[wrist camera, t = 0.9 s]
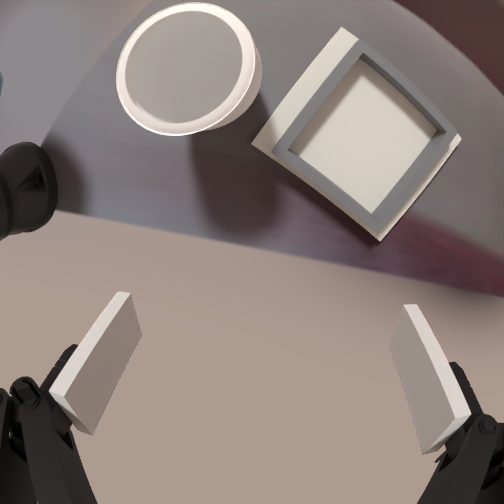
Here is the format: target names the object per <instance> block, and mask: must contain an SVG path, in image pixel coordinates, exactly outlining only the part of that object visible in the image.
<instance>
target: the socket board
mask: <svg viewBox="0 0 504 504" xmlns="http://www.w3.org/2000/svg"><path fill="white" fill-rule="evenodd" d="M457 133H458V132H457V130H456V129H455V128H454V127H453V126H452V124H451V123H450V122H449V121H448V120H447V119H446V118H445V116H444V115H443V114H442V113H441V112H440V111H439V110H438V109H437V108H436V106H435V105H434V104H433V103H432V102H431V101H430V100H429V99H428V98H427V97H426V96H425V95H424V94H423V93H422V92H421V91H420V90H419V89H418V88H417V87H416V86H415V85H414V84H413V83H412V82H411V81H410V80H409V79H408V78H407V77H406V76H404V75H403V74H402V73H401V72H400V71H399V70H398V69H397V68H396V67H394V66H393V65H392V64H391V63H390V62H389V61H388V60H386V59H385V58H384V57H383V56H382V55H380V54H379V53H378V52H377V51H375V50H374V49H373V48H372V47H370V46H369V45H368V44H367V43H365V42H364V41H363V40H361V39H358V38H356V37H355V36H353V35H352V34H351V33H349V32H348V31H347V30H345V29H344V28H342V27H341V28H340V29H339V31H338V32H337V33H336V34H335V35H334V37H333V38H332V39H331V40H330V41H329V43H328V44H327V45H326V46H325V47H324V49H323V50H322V51H321V52H320V53H319V55H318V56H317V57H316V58H315V60H314V61H313V62H312V63H311V65H310V66H309V67H308V68H307V70H306V71H305V72H304V73H303V75H302V76H301V77H300V79H299V80H298V81H297V82H296V84H295V85H294V86H293V88H292V89H291V90H290V91H289V93H288V94H287V95H286V97H285V98H284V99H283V101H282V102H281V103H280V105H279V106H278V107H277V109H276V110H275V111H274V113H273V114H272V115H271V117H270V118H269V120H268V121H267V122H266V124H265V125H264V126H263V128H262V129H261V131H260V132H259V133H258V135H257V136H256V138H255V139H254V140H253V142H252V143H251V144H252V145H253V146H255V147H256V148H258V149H259V150H261V151H262V152H264V153H265V154H267V155H268V156H270V157H271V158H272V159H274V160H275V161H277V162H278V163H280V164H281V165H282V166H284V167H285V168H287V169H288V170H289V171H291V172H292V173H294V174H295V175H296V176H298V177H299V178H300V179H302V180H303V181H305V182H306V183H307V184H309V185H310V186H311V187H313V188H314V189H315V190H317V191H318V192H319V193H321V194H322V195H323V196H324V197H326V198H327V199H328V200H330V201H331V202H332V203H333V204H335V205H336V206H337V207H339V208H340V209H341V210H342V211H344V212H345V213H346V214H347V215H349V216H350V217H351V218H352V219H354V220H355V221H356V222H357V223H358V224H360V225H361V226H362V227H363V228H365V229H366V230H367V231H368V232H369V233H371V234H372V235H373V236H374V237H375V238H376V239H378V240H379V241H381V240H382V239H383V237H384V236H385V235H386V234H387V233H388V232H389V231H390V229H391V228H392V227H393V226H394V225H395V224H396V222H397V221H398V220H399V219H400V218H401V217H402V215H403V214H404V213H405V212H406V211H407V209H408V208H409V207H410V206H411V205H412V203H413V202H414V201H415V200H416V198H417V197H418V196H419V195H420V193H421V192H422V191H423V190H424V188H425V187H426V186H427V185H428V183H429V182H430V181H431V179H432V178H433V177H434V176H435V174H436V173H437V172H438V170H439V169H440V168H441V166H442V165H443V164H444V162H445V161H446V160H447V158H448V157H449V156H450V154H451V153H452V152H453V150H454V149H455V147H456V146H457V145H458V143H459V142H460V140H461V137H460V136H459V135H458V134H457Z"/></svg>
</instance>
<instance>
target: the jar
mask: <svg viewBox="0 0 504 504" xmlns="http://www.w3.org/2000/svg"><path fill="white" fill-rule="evenodd" d="M261 81H262V63H261V58H260V55H259V52H258V50H257V48H256V46H255V44H254V41H253V39H252V36H251V34H250V32H249V30H248V29H247V28H246V26H245V25H244V24H243V22H242V21H241V20H240V19H238V18H237V17H236V16H235V15H234V14H232V13H231V12H229V11H228V10H226V9H224V8H222V7H219V6H216V5H213V4H208V3H201V2H190V3H182V4H177V5H174V6H171V7H168V8H165V9H163V10H161V11H159V12H157V13H155V14H154V15H152V16H151V17H149V18H148V19H147V20H145V21H144V22H143V23H142V24H141V25H140V26H139V27H138V28H137V29H136V30H135V31H134V32H133V33H132V35H131V36H130V37H129V39H128V41H127V42H126V44H125V46H124V48H123V50H122V52H121V55H120V58H119V61H118V65H117V72H116V85H117V91H118V95H119V98H120V101H121V103H122V105H123V107H124V109H125V111H126V112H127V113H128V115H129V116H130V117H131V118H132V119H133V120H134V121H135V122H136V123H138V124H139V125H140V126H142V127H144V128H145V129H147V130H149V131H152V132H155V133H158V134H162V135H170V136H179V135H188V134H192V133H196V132H199V131H206V130H211V129H215V128H219V127H221V126H224V125H226V124H228V123H230V122H232V121H234V120H235V119H237V118H238V117H239V116H241V115H242V114H243V113H244V112H245V111H246V110H247V109H248V108H249V107H250V105H251V104H252V103H253V101H254V99H255V98H256V96H257V94H258V91H259V89H260V85H261Z"/></svg>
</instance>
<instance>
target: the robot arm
mask: <svg viewBox="0 0 504 504" xmlns="http://www.w3.org/2000/svg"><path fill="white" fill-rule="evenodd" d="M2 83H3V77H2V74H1V72H0V94H1V88H2ZM56 201H57V184H56V178H55V174H54V170H53V167H52V165H51V162H50V160H49V158H48V157H47V155H46V154H45V152H44V151H43V150H42V149H41V148H40V147H39V146H37V145H36V144H34V143H32V142H21V143H18V144H14V145H12V146H10V147H9V148H7V149H6V150H5V151H4V152H3V153H2V154H1V155H0V241H1V240H2V239H4V238H5V237H7V236H9V235H14V234H19V233H22V232H32V231H35V230H37V229H39V228H40V227H42V226H43V225H45V224H46V223H47V222H48V221H49V220H50V219H51V217H52V215H53V213H54V210H55V207H56ZM141 336H142V333H141V330H140V326H139V322H138V319H137V315H136V311H135V307H134V304H133V300H132V296H131V293H126V292H117V293H116V295H115V296H114V297H113V299H112V300H111V301H110V303H109V304H108V305H107V307H106V308H105V309H104V311H103V312H102V313H101V315H100V316H99V317H98V319H97V320H96V322H95V323H94V324H93V326H92V327H91V328H90V330H89V331H88V333H87V334H86V336H85V337H84V338H83V340H82V341H81V343H80V344H79V345H76V344H73V345H71V346H70V347H69V348H67V349H66V350H65V351H64V352H63V354H62V355H61V357H60V358H59V360H58V361H57V362H56V364H55V367H53V368H52V370H51V371H50V373H49V374H48V376H47V377H46V379H45V380H44V382H43V383H42V385H41V386H40V388H39V387H38V386H37V384H36V383H35V381H34V380H33V379H32V378H31V377H21V378H19V379H17V380H16V381H15V382H13V384H12V386H11V387H10V394H11V395H12V396H9V395H8V393H7V392H6V391H5V390H4V389H3V388H0V504H37V502H38V504H97V501H96V499H95V496H94V494H93V492H92V489H91V487H90V484H89V482H88V479H87V476H86V474H85V471H84V468H83V465H82V462H81V459H80V456H79V454H78V451H77V447H76V444H75V441H74V437H73V434H72V431H71V430H70V427H71V425H72V423H73V425H74V426H75V427H76V428H77V430H79V431H81V432H84V433H87V434H89V435H93V434H94V431H95V429H96V427H97V425H98V423H99V420H100V418H101V416H102V414H103V412H104V410H105V408H106V406H107V404H108V401H109V399H110V397H111V395H112V393H113V391H114V389H115V387H116V385H117V383H118V381H119V379H120V377H121V375H122V373H123V371H124V369H125V367H126V365H127V363H128V361H129V359H130V357H131V355H132V353H133V351H134V350H135V348H136V346H137V344H138V342H139V340H140V338H141ZM389 349H390V352H391V354H392V357H393V360H394V362H395V366H396V368H397V371H398V374H399V377H400V380H401V383H402V386H403V389H404V392H405V396H406V399H407V402H408V405H409V408H410V412H411V415H412V418H413V422H414V425H415V429H416V433H417V436H418V440H419V444H420V448H421V451H422V455H423V454H428V453H432V452H435V451H438V450H439V449H440V448H441V447H442V446H443V445H444V444H445V447H446V451H445V452H444V453H442V454H441V455H440V456H439V457H438V458H437V460H436V461H435V462H436V463H437V462H438V461H439V460H440V462H439V464H438V466H437V468H436V470H435V472H434V474H433V476H432V478H431V480H430V482H429V483H428V485H427V487H426V489H425V491H424V492H423V494H422V496H421V498H420V499H419V501H418V503H417V504H504V423H497V422H496V420H495V419H494V418H493V417H492V416H490V415H487V414H484V413H483V411H482V409H481V407H480V405H479V402H478V401H477V399H476V396H475V394H474V392H473V390H472V388H471V387H470V383H469V381H468V380H467V377H466V375H465V373H464V371H463V369H462V368H461V367H460V366H458V364H457V363H456V362H449V363H448V361H447V359H446V357H445V355H444V353H443V351H442V349H441V347H440V345H439V343H438V342H437V340H436V338H435V336H434V334H433V332H432V330H431V329H430V327H429V325H428V323H427V321H426V320H425V318H424V316H423V314H422V312H421V311H420V309H419V308H418V306H417V305H416V304H411V305H403V308H402V311H401V314H400V317H399V320H398V322H397V326H396V328H395V331H394V334H393V336H392V339H391V342H390V344H389ZM9 432H10V436H9Z"/></svg>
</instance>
